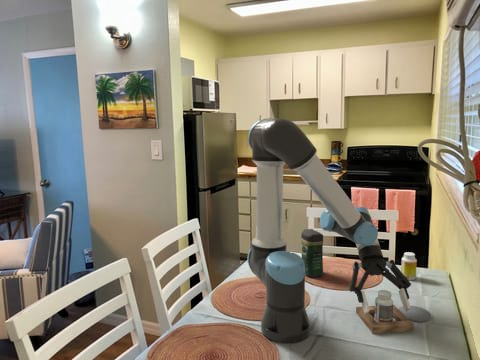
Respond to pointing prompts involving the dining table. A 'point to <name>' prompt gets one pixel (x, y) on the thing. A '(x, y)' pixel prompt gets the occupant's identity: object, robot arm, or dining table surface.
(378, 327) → the pocket
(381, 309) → the pill bottle
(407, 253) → the supplement bottle
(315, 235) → the coffee jar
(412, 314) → the coaster
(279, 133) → the robot arm
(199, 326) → the dining table surface
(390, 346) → the dining table surface
